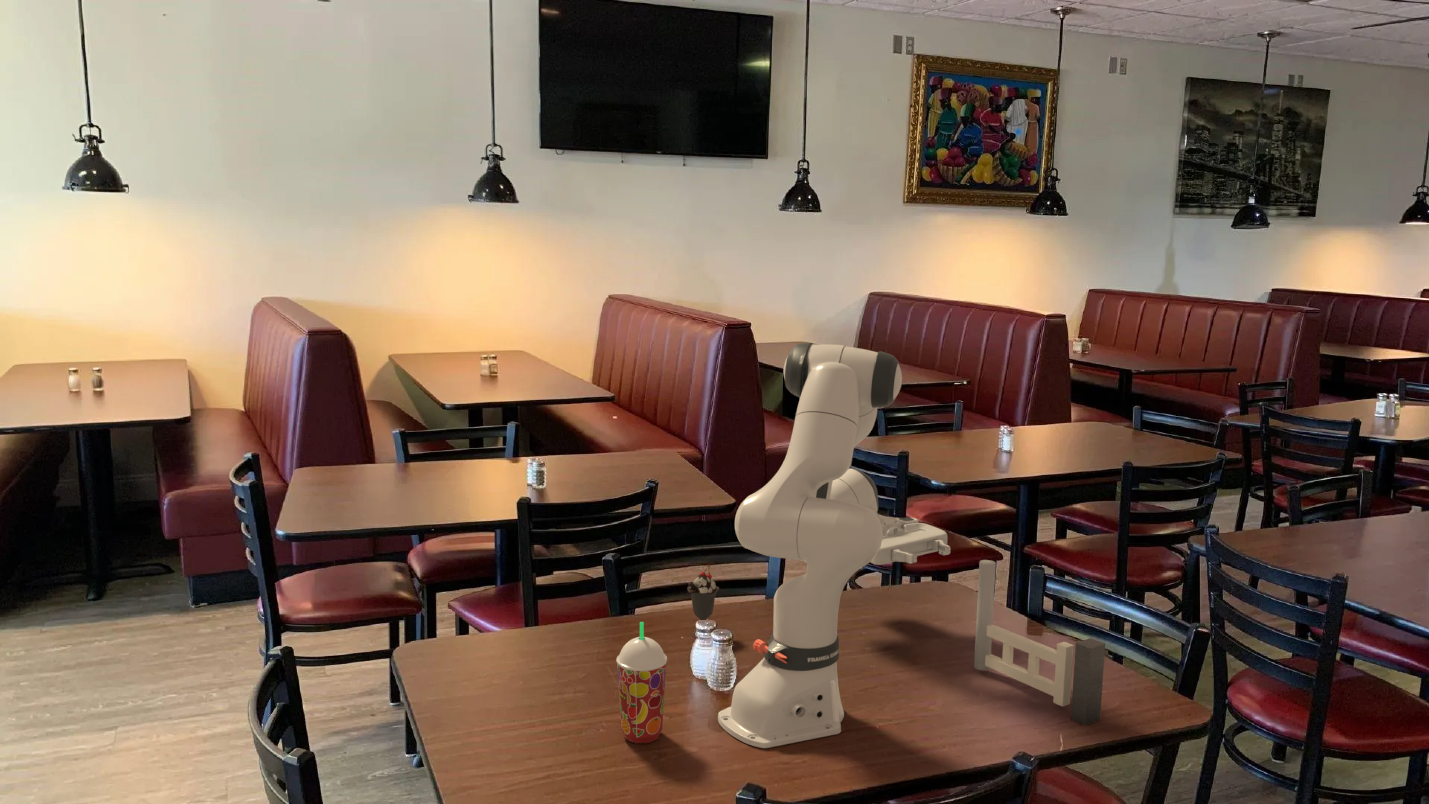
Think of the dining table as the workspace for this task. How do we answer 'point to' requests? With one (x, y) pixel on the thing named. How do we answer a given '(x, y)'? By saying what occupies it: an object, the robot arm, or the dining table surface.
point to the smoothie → (641, 688)
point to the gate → (1017, 646)
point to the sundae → (703, 595)
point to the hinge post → (1087, 681)
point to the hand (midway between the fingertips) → (931, 555)
